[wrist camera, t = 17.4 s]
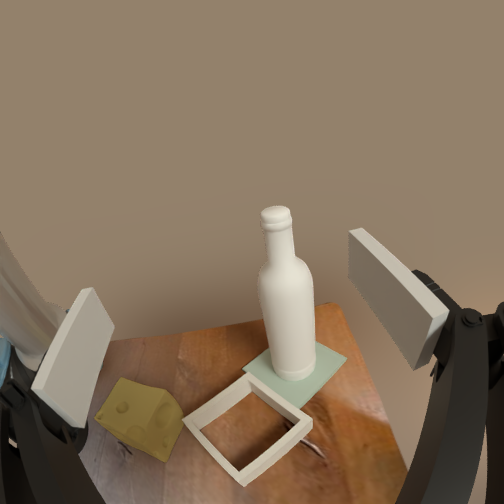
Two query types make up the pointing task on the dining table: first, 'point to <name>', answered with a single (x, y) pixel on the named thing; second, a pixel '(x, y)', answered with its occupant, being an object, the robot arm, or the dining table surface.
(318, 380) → the mat
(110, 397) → the cheese
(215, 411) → the bottle holder
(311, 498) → the dining table surface
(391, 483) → the dining table surface
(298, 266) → the bottle
